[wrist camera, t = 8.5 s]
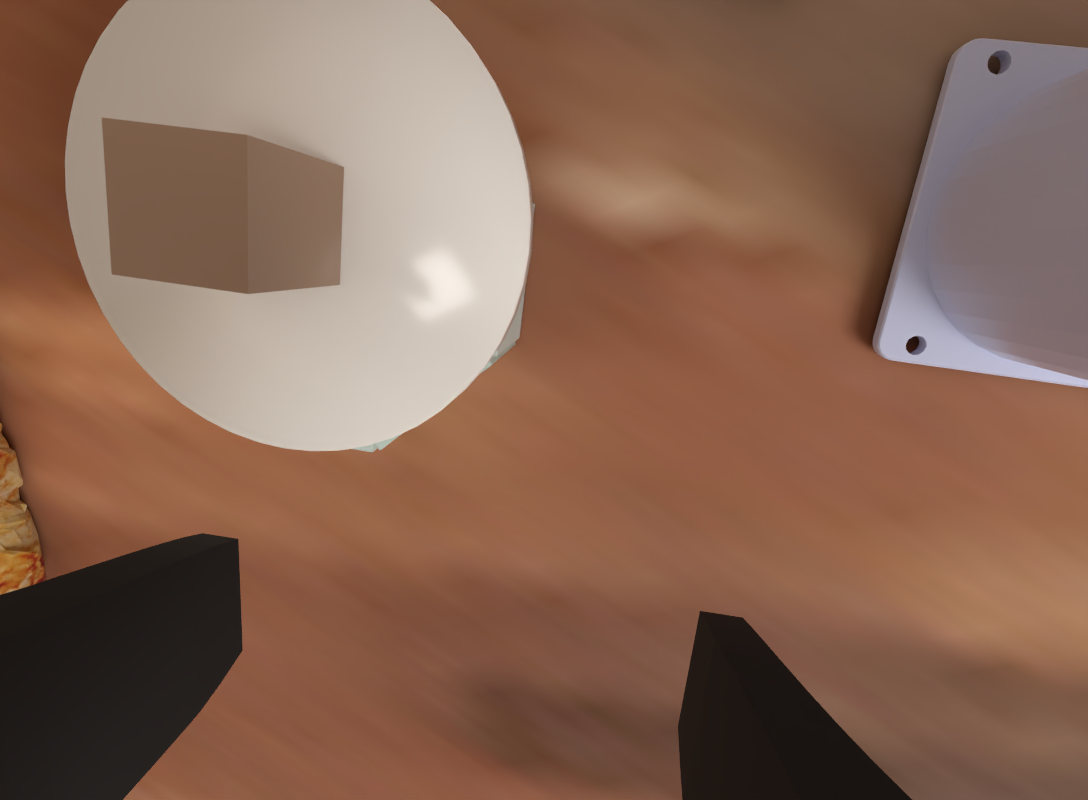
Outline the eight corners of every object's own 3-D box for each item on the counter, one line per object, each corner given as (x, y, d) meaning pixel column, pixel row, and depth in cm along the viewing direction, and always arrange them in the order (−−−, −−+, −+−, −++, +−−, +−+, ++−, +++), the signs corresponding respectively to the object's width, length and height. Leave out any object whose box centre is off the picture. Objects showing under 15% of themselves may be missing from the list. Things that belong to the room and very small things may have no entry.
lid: (563, -20, 12) (536, -164, 8) (505, 472, 15) (463, 554, 11) (77, -64, 13) (-173, -214, 9) (109, 407, 16) (-69, 459, 12)
